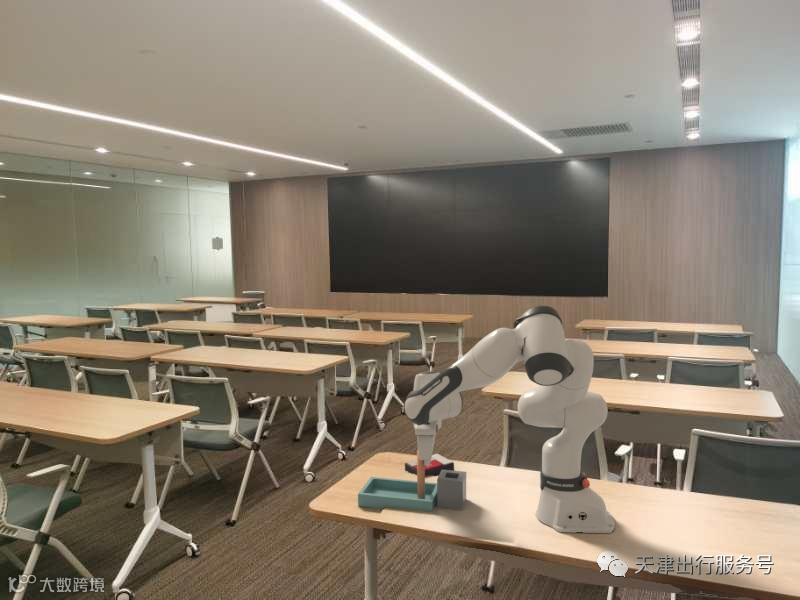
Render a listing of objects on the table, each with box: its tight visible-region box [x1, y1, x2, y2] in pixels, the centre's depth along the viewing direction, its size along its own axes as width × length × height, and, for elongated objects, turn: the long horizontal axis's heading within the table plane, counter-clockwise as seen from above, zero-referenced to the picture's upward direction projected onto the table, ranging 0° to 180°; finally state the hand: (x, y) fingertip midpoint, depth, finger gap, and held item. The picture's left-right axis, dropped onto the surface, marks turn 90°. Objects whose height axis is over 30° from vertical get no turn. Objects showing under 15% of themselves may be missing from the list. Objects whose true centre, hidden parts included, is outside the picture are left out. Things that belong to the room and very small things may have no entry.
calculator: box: [404, 453, 455, 477], centre depth 204 cm, size 11×4×15 cm
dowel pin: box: [416, 450, 426, 499], centre depth 176 cm, size 2×2×16 cm
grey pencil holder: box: [436, 470, 467, 511], centre depth 174 cm, size 8×8×10 cm
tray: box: [357, 476, 437, 512], centre depth 179 cm, size 24×14×4 cm, turn 76°
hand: (427, 464), depth 175 cm, fingers closed
